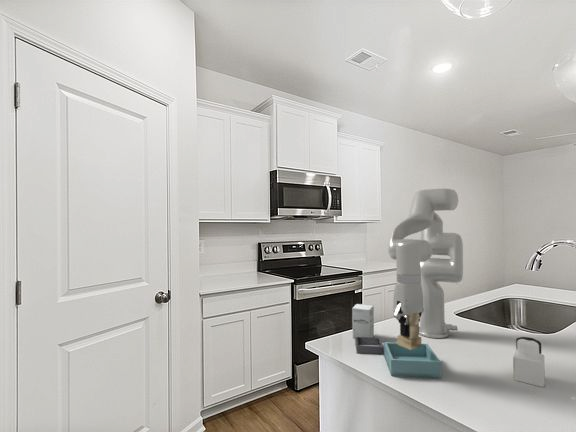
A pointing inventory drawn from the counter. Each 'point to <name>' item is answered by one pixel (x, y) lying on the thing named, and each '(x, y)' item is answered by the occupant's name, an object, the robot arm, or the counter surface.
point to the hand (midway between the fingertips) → (409, 334)
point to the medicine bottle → (529, 362)
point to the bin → (412, 361)
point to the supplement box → (363, 320)
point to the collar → (369, 349)
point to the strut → (411, 333)
